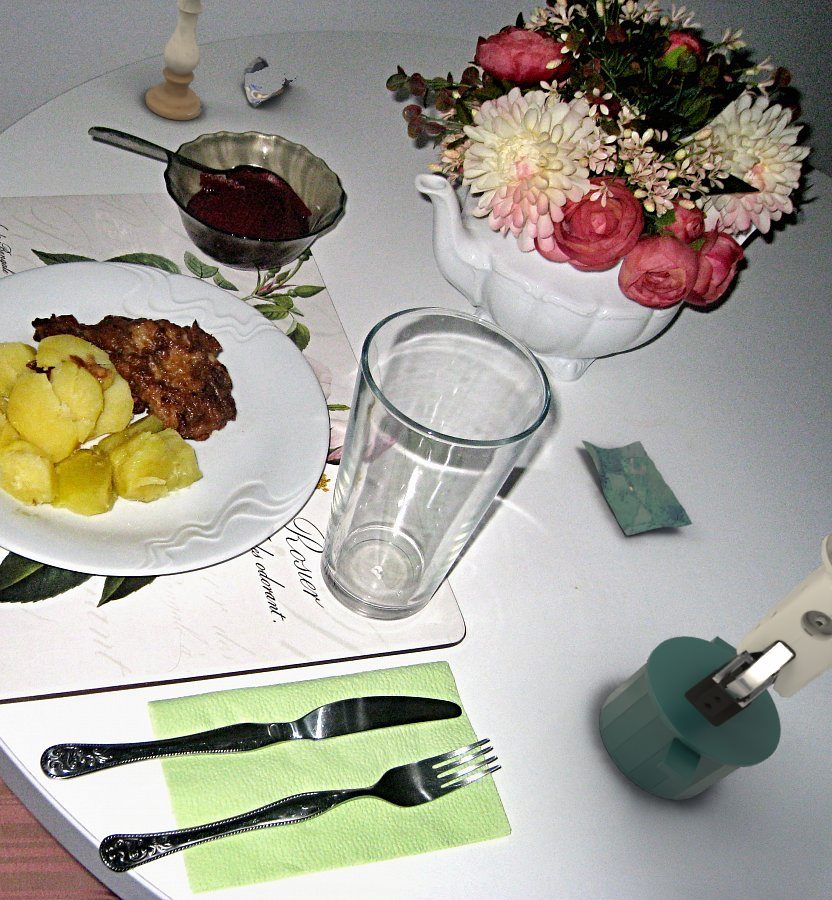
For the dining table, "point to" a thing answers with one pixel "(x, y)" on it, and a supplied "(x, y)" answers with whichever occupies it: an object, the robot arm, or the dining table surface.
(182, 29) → the candle holder
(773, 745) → the pot lid
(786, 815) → the dining table surface
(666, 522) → the green flat curved rectangle
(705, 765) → the pot
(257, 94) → the snack package
